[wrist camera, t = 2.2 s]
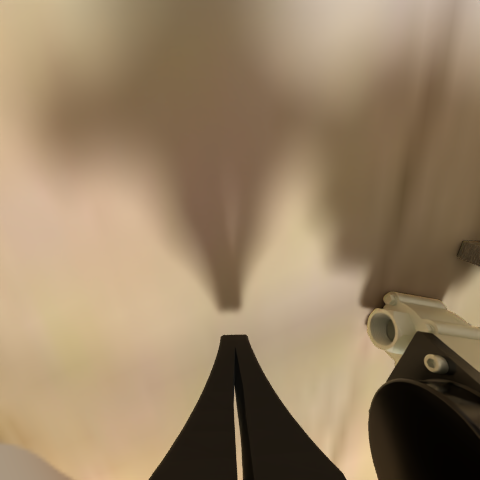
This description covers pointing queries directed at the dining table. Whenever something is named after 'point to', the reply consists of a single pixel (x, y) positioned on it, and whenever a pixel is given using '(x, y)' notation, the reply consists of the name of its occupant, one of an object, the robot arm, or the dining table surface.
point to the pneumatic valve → (425, 392)
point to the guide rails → (470, 252)
